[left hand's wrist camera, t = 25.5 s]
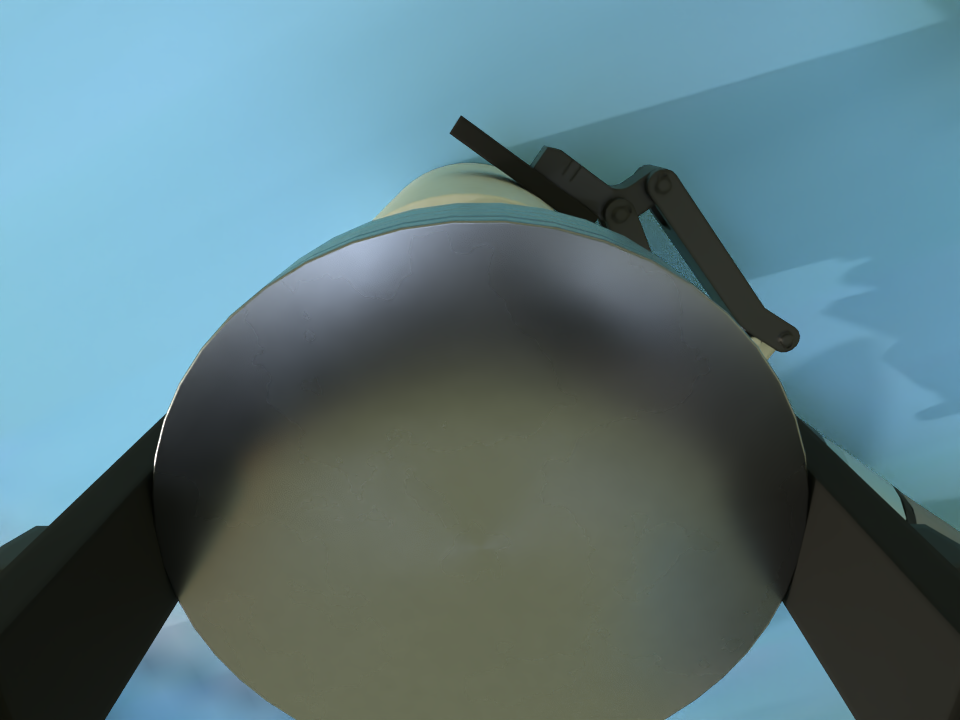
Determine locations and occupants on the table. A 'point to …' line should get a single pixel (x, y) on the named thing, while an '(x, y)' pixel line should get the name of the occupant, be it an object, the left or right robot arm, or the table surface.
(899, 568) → the left robot arm
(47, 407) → the table surface
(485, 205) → the lid
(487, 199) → the jar
